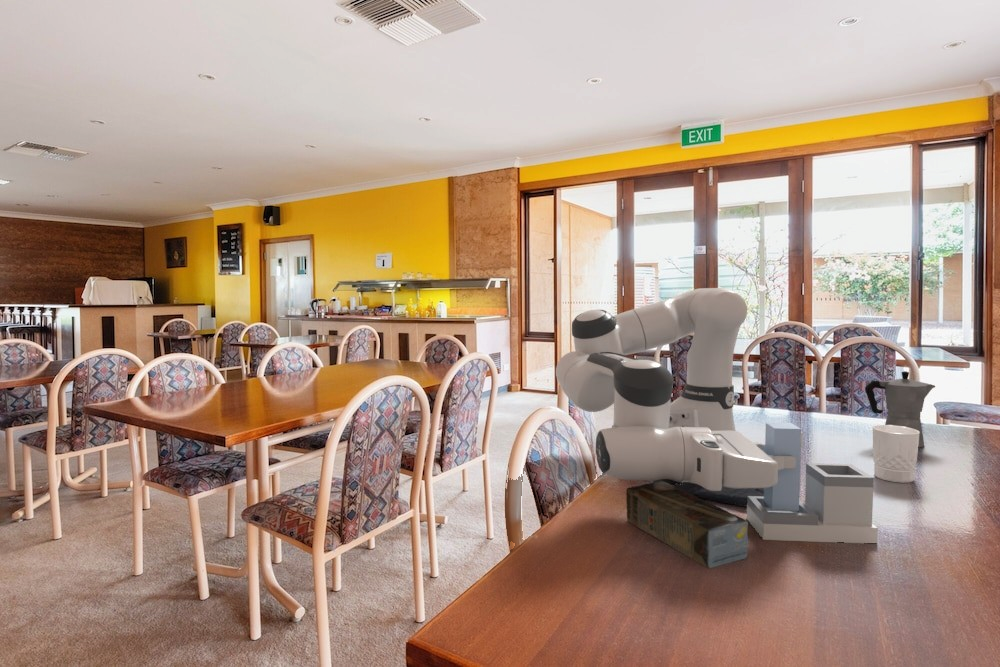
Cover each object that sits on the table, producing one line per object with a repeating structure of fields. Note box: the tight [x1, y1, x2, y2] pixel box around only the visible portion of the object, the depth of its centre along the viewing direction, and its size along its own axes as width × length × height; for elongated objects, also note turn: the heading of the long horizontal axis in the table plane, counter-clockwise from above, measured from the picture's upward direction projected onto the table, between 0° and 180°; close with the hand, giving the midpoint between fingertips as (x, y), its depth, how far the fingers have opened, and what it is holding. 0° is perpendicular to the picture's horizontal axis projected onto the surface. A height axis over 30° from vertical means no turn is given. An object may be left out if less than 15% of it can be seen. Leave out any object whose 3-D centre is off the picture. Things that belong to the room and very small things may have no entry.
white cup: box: [872, 424, 920, 484], centre depth 118 cm, size 8×8×10 cm
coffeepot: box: [864, 371, 936, 448], centre depth 144 cm, size 15×9×18 cm, turn 79°
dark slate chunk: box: [649, 479, 764, 507], centre depth 113 cm, size 15×22×5 cm
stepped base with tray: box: [746, 462, 879, 544], centre depth 93 cm, size 16×8×10 cm, turn 83°
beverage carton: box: [625, 481, 749, 569], centre depth 91 cm, size 8×19×7 cm, turn 24°
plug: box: [764, 422, 804, 511], centre depth 93 cm, size 5×4×13 cm
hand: (787, 456), depth 93 cm, fingers closed on plug, 4 cm apart
